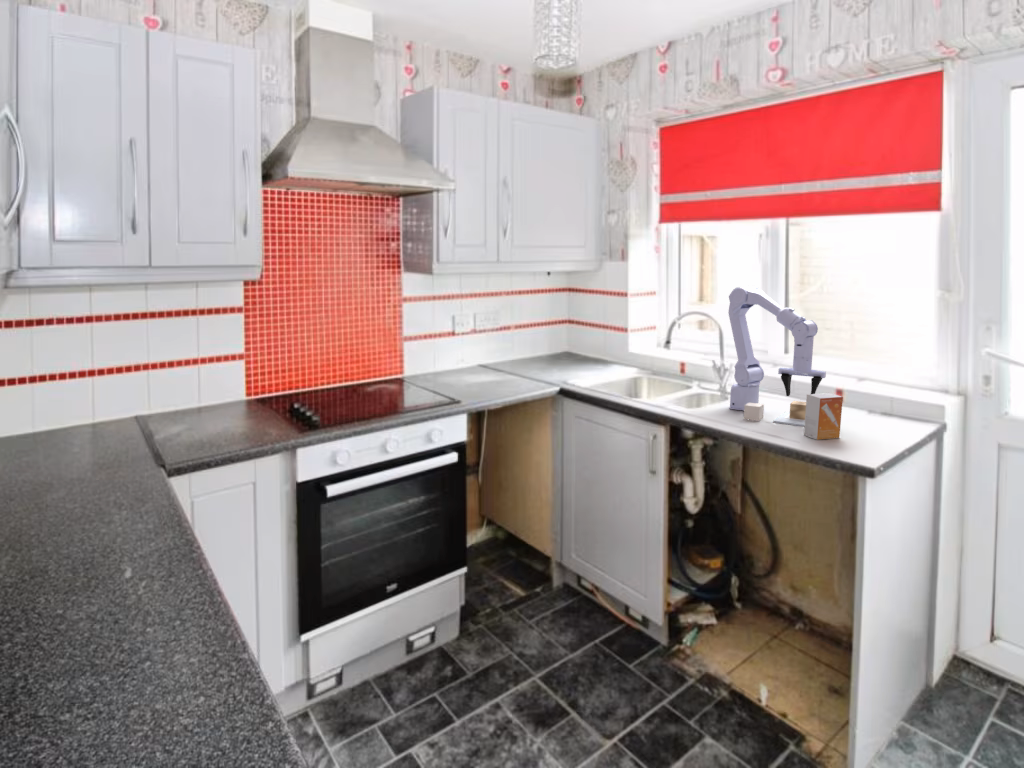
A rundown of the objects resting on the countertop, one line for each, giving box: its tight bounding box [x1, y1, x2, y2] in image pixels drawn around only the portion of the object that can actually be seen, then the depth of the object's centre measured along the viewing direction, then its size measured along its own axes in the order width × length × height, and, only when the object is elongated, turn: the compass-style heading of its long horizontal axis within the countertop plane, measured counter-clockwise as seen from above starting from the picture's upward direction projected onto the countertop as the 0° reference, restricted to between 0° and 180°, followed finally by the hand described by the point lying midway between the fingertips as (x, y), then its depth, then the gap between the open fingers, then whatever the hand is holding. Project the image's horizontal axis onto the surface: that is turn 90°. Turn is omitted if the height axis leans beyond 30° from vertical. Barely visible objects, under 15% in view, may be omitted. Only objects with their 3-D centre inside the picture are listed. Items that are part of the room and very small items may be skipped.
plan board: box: [773, 411, 805, 427], centre depth 221 cm, size 12×15×1 cm
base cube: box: [789, 400, 806, 420], centre depth 221 cm, size 5×5×5 cm
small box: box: [803, 392, 844, 441], centre depth 199 cm, size 8×6×13 cm
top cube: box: [743, 402, 765, 422], centre depth 224 cm, size 5×5×5 cm
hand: (800, 396), depth 220 cm, fingers open, 7 cm apart
